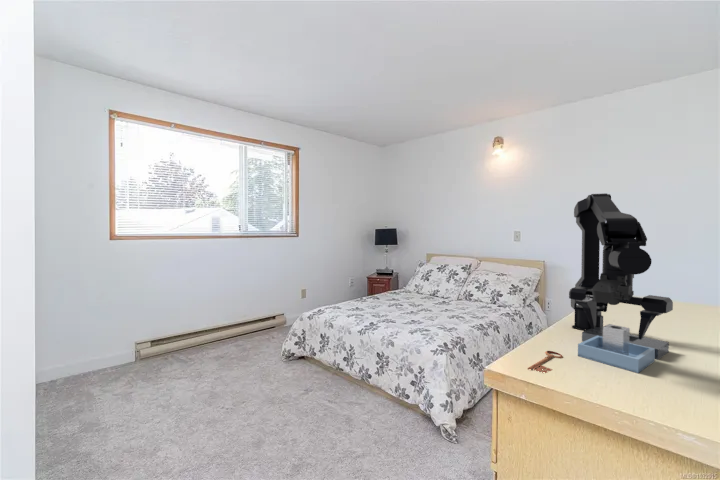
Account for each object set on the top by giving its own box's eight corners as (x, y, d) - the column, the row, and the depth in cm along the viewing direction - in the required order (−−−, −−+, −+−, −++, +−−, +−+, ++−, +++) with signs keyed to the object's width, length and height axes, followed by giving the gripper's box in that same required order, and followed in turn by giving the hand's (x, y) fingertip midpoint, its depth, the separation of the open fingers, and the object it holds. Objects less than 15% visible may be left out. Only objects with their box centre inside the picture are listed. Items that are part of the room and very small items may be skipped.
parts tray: (577, 356, 79) (578, 343, 79) (597, 346, 85) (597, 335, 85) (638, 373, 69) (638, 359, 69) (654, 361, 76) (654, 348, 76)
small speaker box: (602, 355, 78) (603, 326, 78) (608, 351, 80) (609, 323, 80) (622, 360, 74) (623, 330, 74) (628, 356, 77) (629, 327, 76)
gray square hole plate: (581, 340, 90) (582, 332, 90) (595, 335, 95) (595, 326, 95) (657, 359, 76) (658, 349, 76) (668, 351, 81) (668, 342, 81)
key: (547, 379, 68) (573, 360, 77) (548, 374, 68) (574, 357, 77) (520, 367, 72) (547, 351, 82) (520, 363, 72) (548, 348, 82)
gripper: (559, 267, 80) (558, 329, 80) (659, 276, 64) (657, 353, 65) (579, 265, 86) (578, 322, 86) (674, 272, 71) (672, 342, 71)
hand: (615, 333), depth 77 cm, fingers open, 9 cm apart
